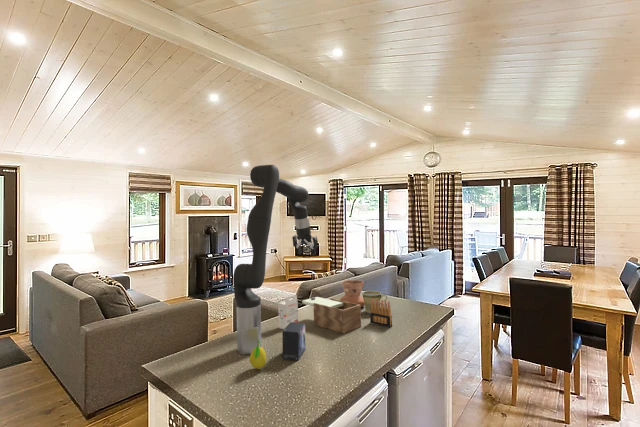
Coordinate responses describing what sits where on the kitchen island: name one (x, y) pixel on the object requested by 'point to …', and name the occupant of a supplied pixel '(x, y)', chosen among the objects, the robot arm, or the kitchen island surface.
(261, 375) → the kitchen island surface
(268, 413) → the kitchen island surface
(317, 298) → the lid
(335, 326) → the wooden box
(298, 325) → the small box
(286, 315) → the ink cartridge box
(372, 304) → the ammunition clip
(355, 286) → the ceramic jug
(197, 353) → the kitchen island surface
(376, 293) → the ceramic cup
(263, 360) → the lemon
